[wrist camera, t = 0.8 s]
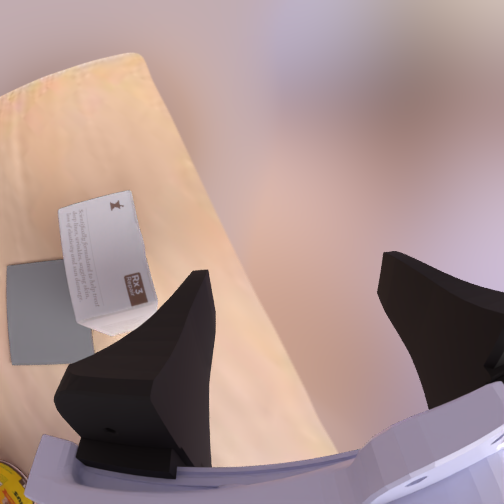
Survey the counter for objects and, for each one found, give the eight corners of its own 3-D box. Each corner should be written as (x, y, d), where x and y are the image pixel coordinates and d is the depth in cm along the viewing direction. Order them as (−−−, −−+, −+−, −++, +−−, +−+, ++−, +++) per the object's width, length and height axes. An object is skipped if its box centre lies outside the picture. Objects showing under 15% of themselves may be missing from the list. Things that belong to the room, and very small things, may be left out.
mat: (95, 361, 21) (95, 361, 20) (13, 365, 18) (12, 365, 17) (85, 257, 23) (85, 256, 23) (8, 266, 20) (7, 266, 20)
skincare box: (94, 270, 23) (49, 204, 12) (142, 258, 25) (130, 182, 14) (111, 340, 22) (67, 326, 11) (161, 326, 23) (160, 301, 12)
